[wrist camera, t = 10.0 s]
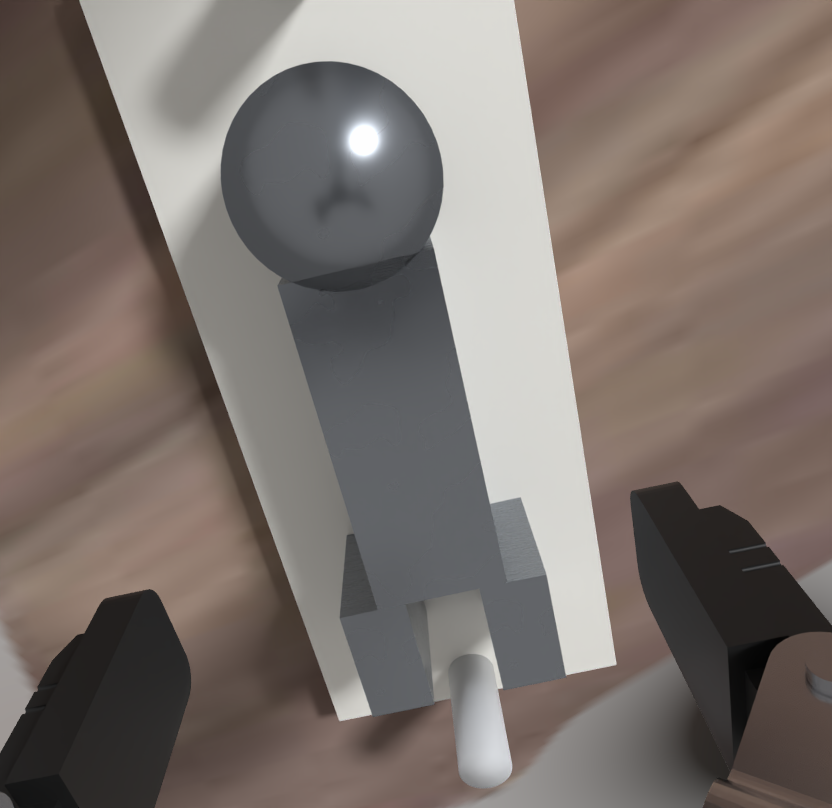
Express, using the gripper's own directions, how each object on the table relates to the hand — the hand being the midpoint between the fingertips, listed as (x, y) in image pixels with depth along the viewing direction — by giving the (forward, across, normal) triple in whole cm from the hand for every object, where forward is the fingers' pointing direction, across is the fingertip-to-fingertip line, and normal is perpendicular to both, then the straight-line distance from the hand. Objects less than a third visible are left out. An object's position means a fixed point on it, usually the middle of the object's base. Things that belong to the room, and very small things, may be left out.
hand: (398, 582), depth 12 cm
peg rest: (+11, 0, +1) cm, 11 cm away
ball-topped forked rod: (+10, 0, +1) cm, 10 cm away
